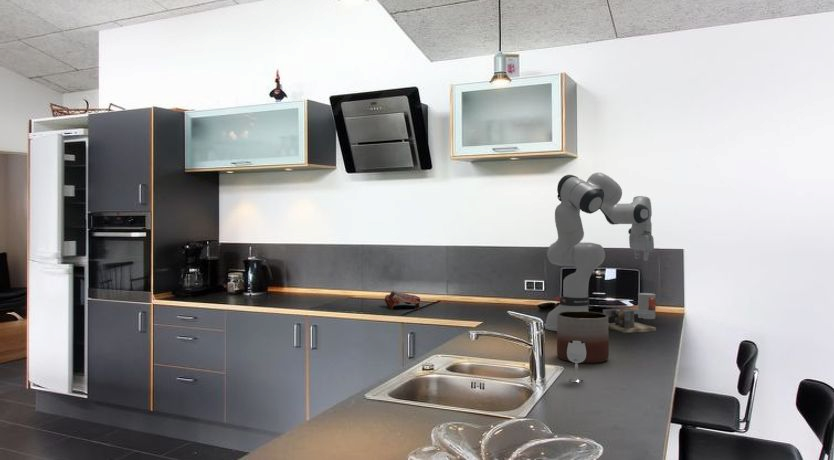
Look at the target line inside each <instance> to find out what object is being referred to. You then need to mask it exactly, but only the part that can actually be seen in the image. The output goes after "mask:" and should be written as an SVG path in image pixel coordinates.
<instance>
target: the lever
mask: <svg viewBox="0 0 834 460" xmlns="http://www.w3.org/2000/svg"><path fill="white" fill-rule="evenodd" d="M629 310H630V309H620V308H614V309H607V308H606V309H602V313H603V314H606V315H608V318H615V315H618V314H619V312H620V311H624V312H625V311H629ZM632 310H633V311H634V315H638V314H654V310H655V311H656V304H655V298H648V309H647V310H638V309H632Z"/></svg>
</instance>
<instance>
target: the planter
mask: <svg viewBox="0 0 834 460" xmlns="http://www.w3.org/2000/svg"><path fill="white" fill-rule="evenodd" d="M608 323H609V317H608V315H606V314H603V312H597V311H595V312H594V311H589V312H588V311H567V312H560V313H558V315H557V331H556V334H557V335H556V356H557V357H558V358H560V359H561V360H563V361H566V362H570V363H572V362H571V361H570V360H569V359H568V357H567V347H568V343H569V341H582V342H584V343H585V347H586V358H585V360H584V361H583V362H581V363H580V364H598V363H603V362H605V361H607V360H608V359H609V355H610V354H609V353H610V351H609V350H610V349H609V347H610V346H609V345H610V343H609V339H610V338H609V328H608Z"/></svg>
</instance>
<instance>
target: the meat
mask: <svg viewBox="0 0 834 460" xmlns="http://www.w3.org/2000/svg"><path fill="white" fill-rule="evenodd" d="M384 297H385V298H384V303H385V304H386V305H387V307H388V309H389V310H393V309H394V306H397V305H399V304H401V303H405V304H406V305H412V304H413V305H414V310H419V309H420V308H421V307H420V303H421V298H420V296H418V295H414V294H408V293H405V292H404V293H403V292H399V291H396V290H392V291H391V292H390V293H389V294H386V295H385V296H384Z"/></svg>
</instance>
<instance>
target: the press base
mask: <svg viewBox="0 0 834 460" xmlns="http://www.w3.org/2000/svg"><path fill="white" fill-rule="evenodd" d="M628 310H629V311H625V312H624V311H620V312H619V314H618V315H615V317H614V322H613V323H609V322H608V329H610V330H613V331H617V332H620V333H624V334H625V333H647V332H657V327H655V326H651V325H647V324H645V323H640V322H637V321H635V314H634V311H633V310H634V309H628Z"/></svg>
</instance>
